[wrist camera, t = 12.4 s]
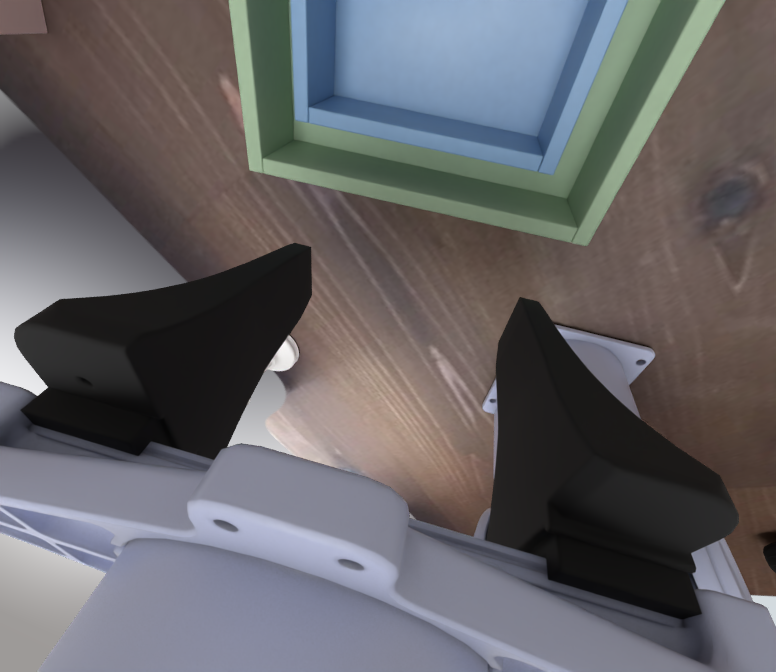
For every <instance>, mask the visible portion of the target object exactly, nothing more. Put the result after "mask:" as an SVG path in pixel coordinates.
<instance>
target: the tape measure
mask: <svg viewBox="0 0 776 672" xmlns="http://www.w3.org/2000/svg"><path fill="white" fill-rule="evenodd" d="M763 553H764V556H765V559H766V561H767V563H768V564H769V566H770V568H771V569H772V570H773V571H774V572H775V573H776V542H775V543H771V544H769V545H767V546H765V547H764V549H763Z"/></svg>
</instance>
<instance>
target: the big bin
mask: <svg viewBox="0 0 776 672" xmlns="http://www.w3.org/2000/svg"><path fill="white" fill-rule="evenodd" d="M724 2H725V0H628V3H627V5H626V7H625V10H624V12H623V14H622V17H621V19H620V21H619V24H618V26H617V28H616V31H615V33H614V35H613V38H612V40H611V42H610V45H609V47H608V49H607V52H606V54H605V56H604V59H603V61H602V63H601V66H600V68H599V70H598V73H597V75H596V77H595V80H594V82H593V84H592V86H591V89H590V91H589V93H588V96H587V98H586V100H585V103H584V105H583V107H582V110H581V112H580V114H579V117H578V119H577V121H576V124H575V126H574V128H573V131H572V133H571V135H570V138H569V140H568V142H567V145H566V147H565V149H564V152H563V154H562V156H561V159H560V161H559V163H558V166H557V168H556V170H555V173H554V175H548V174H543V173H539V172H538V171H537V172H535V171H530V170H525V169H521V168H516V167H511V166H507V165H502V164H497V163H492V162H488V161H483V160H478V159H474V158H469V157H464V156H460V155H455V154H450V153H445V152H441V151H436V150H431V149H427V148H422V147H417V146H413V145H408V144H403V143H398V142H394V141H389V140H384V139H380V138H375V137H370V136H366V135H361V134H356V133H352V132H347V131H342V130H337V129H333V128H328V127H323V126H319V125H314V124H310V123H305V122H300V121H296V120H295V111H294V85H293V58H292V32H291V5H290V0H229V8H230V16H231V24H232V32H233V41H234V49H235V57H236V65H237V73H238V81H239V89H240V97H241V105H242V113H243V121H244V130H245V138H246V146H247V154H248V162H249V169H250V170H251V171H255V172H259V173H265V174H268V175H273V176H277V177H282V178H286V179H290V180H295V181H299V182H304V183H308V184H313V185H317V186H321V187H326V188H330V189H335V190H339V191H343V192H348V193H352V194H357V195H361V196H366V197H370V198H374V199H379V200H383V201H388V202H392V203H397V204H401V205H405V206H410V207H414V208H419V209H423V210H428V211H432V212H436V213H441V214H445V215H450V216H454V217H459V218H463V219H467V220H472V221H476V222H481V223H485V224H490V225H494V226H498V227H503V228H507V229H512V230H516V231H521V232H525V233H529V234H534V235H538V236H543V237H547V238H552V239H556V240H560V241H565V242H572V243H574V244H578V245H583V246H587V245H588V244H589V242H590V240H591V239H592V237H593V235H594V233H595V231H596V230H597V228H598V226H599V224H600V223H601V221H602V219H603V217H604V215H605V214H606V212H607V210H608V208H609V207H610V205H611V203H612V201H613V199H614V198H615V196H616V194H617V192H618V191H619V189H620V187H621V185H622V183H623V182H624V180H625V178H626V176H627V175H628V173H629V171H630V169H631V168H632V166H633V164H634V162H635V160H636V159H637V157H638V155H639V153H640V152H641V150H642V148H643V146H644V144H645V143H646V141H647V139H648V137H649V136H650V134H651V132H652V130H653V128H654V127H655V125H656V123H657V121H658V120H659V118H660V116H661V114H662V112H663V111H664V109H665V107H666V105H667V104H668V102H669V100H670V98H671V96H672V95H673V93H674V91H675V89H676V88H677V86H678V84H679V82H680V80H681V79H682V77H683V75H684V73H685V72H686V70H687V68H688V66H689V64H690V63H691V61H692V59H693V57H694V56H695V54H696V52H697V50H698V48H699V47H700V45H701V43H702V41H703V40H704V38H705V36H706V34H707V32H708V31H709V29H710V27H711V25H712V24H713V22H714V20H715V18H716V16H717V15H718V13H719V11H720V9H721V8H722V6H723V4H724Z"/></svg>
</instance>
